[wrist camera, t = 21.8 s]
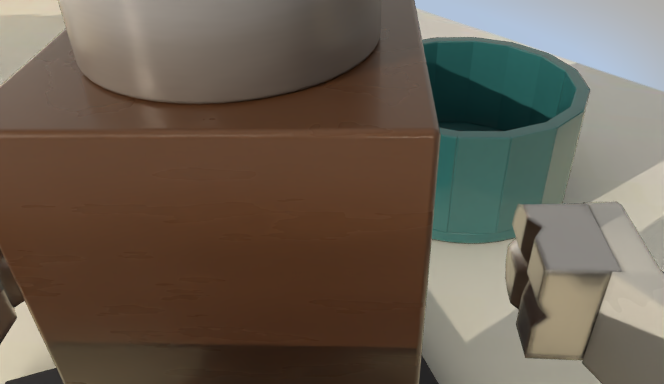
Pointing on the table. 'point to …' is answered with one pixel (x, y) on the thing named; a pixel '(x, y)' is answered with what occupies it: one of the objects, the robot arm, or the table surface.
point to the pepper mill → (224, 191)
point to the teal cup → (500, 133)
